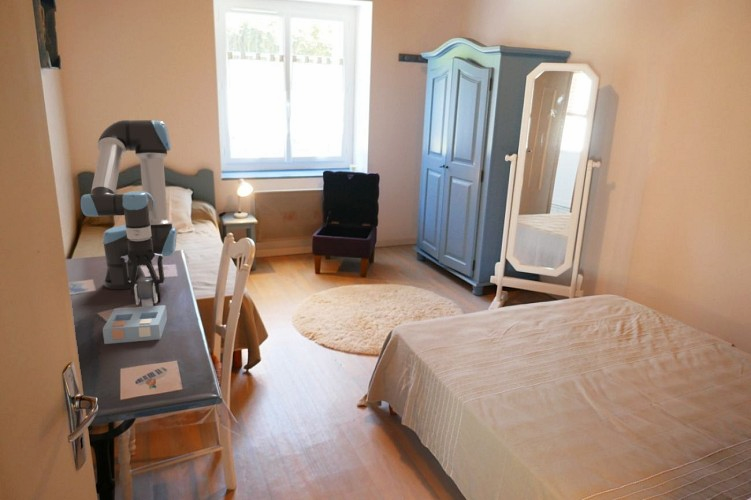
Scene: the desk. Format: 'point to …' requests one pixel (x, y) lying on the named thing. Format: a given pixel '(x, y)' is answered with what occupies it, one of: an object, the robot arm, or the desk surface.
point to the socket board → (135, 324)
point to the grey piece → (145, 291)
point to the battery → (157, 293)
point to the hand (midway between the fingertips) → (147, 302)
